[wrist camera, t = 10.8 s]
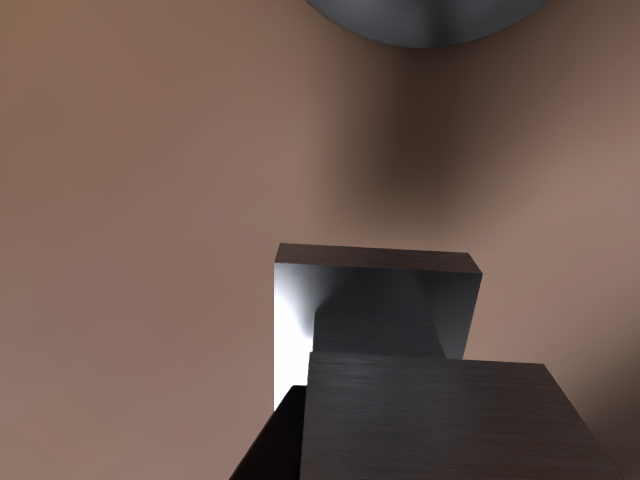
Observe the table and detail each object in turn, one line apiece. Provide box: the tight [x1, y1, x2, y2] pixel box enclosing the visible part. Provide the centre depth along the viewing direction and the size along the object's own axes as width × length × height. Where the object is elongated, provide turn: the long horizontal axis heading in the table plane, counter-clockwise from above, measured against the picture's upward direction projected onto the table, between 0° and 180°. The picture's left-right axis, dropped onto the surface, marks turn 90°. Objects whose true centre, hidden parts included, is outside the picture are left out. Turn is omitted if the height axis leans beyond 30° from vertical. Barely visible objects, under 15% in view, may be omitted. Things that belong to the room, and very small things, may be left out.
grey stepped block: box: [274, 243, 624, 480], centre depth 7 cm, size 7×4×7 cm, turn 177°
